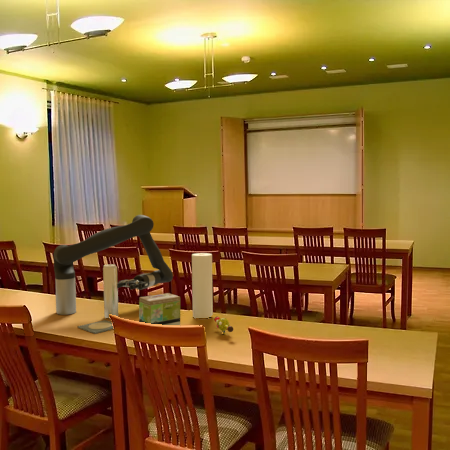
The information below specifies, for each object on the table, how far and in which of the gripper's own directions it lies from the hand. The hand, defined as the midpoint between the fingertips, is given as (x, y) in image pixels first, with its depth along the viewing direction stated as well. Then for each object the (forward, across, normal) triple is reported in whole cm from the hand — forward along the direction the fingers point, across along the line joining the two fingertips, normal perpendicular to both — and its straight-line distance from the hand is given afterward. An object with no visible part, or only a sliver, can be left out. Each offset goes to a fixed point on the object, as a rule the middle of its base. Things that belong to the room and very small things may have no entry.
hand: (123, 286), depth 247 cm
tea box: (+16, +33, +13) cm, 39 cm away
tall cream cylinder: (+9, 0, +13) cm, 16 cm away
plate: (+25, +7, +13) cm, 29 cm away
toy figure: (+9, +60, +13) cm, 62 cm away
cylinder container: (-12, +38, +13) cm, 42 cm away
